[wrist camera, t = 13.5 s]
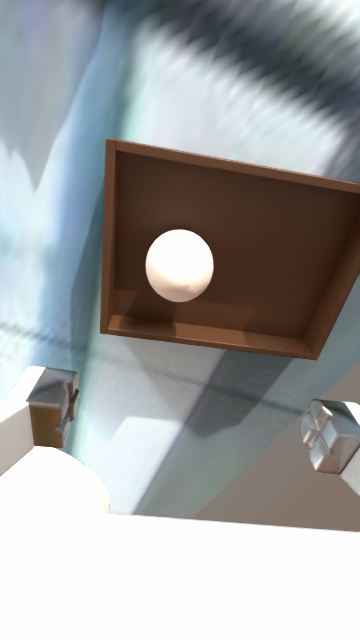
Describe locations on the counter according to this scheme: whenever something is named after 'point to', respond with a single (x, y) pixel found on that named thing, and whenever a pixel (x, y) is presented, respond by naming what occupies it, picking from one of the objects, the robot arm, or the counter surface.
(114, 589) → the robot arm
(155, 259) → the egg
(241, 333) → the tray
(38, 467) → the plate stack
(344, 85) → the counter surface
